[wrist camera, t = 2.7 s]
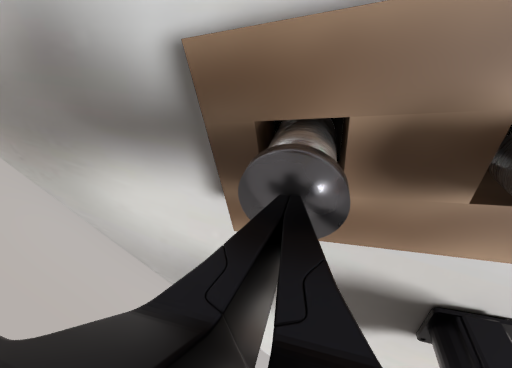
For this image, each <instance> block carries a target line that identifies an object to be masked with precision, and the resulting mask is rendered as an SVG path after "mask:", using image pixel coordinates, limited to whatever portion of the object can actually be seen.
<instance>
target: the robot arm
mask: <svg viewBox="0 0 512 368" xmlns="http://www.w3.org/2000/svg"><path fill="white" fill-rule="evenodd" d="M277 283H278V285H277ZM276 287H277V297H276V309H275V320H274V332H273V342H272V349H271V355H270V360H269V365H268V368H382V366H381V365H380V363H379V361H378V360H377V358H376V356H375V355H374V353H373V351H372V349H371V348H370V346H369V344H368V342H367V340H366V339H365V337H364V335H363V333H362V331H361V330H360V328H359V326H358V324H357V322H356V320H355V319H354V317H353V315H352V313H351V311H350V310H349V308H348V306H347V304H346V302H345V300H344V298H343V297H342V295H341V293H340V291H339V289H338V287H337V285H336V282H335V280H334V278H333V275H332V273H331V271H330V268H329V266H328V263H327V261H326V259H325V256H324V253H323V251H322V248H321V246H320V243H319V241H318V238H317V236H316V233H315V230H314V228H313V225H312V223H311V220H310V218H309V215H308V212H307V210H306V207H305V205H304V202H303V200H302V197H301V196H300V195H291V196H290V195H286V194H280V195H278V196H277V197H276V198H275V199H274V200H273V201H271V202H270V203H269V204H268V205H267V206H266V207H265V208H264V209H263V210H261V211H260V212H259V213H258V214H257V215H256V216H255V217H254V218H252V219H251V220H250V221H249V222H248V223H247V224H246V225H245V226H244V227H242V228H241V229H240V230H239V231H238V232H237V233H236V234H235V235H233V236H232V237H231V238H230V239H229V240H228V241H227V242H226V243H225V244H224V246H221V247H220V248H219V249H218V250H217V251H215V252H214V253H213V254H212V255H211V256H210V257H208V258H207V259H206V260H205V261H204V262H202V263H201V264H200V265H199V266H197V267H196V268H195V269H193V270H192V271H191V272H190V273H188V274H187V275H185V276H184V277H183V278H181V279H180V280H179V281H177V282H176V283H175V284H173V285H172V286H171V287H169V288H168V289H167V290H165V291H164V292H163V293H161V294H160V295H158V296H157V297H156V298H154V299H153V300H151V301H150V302H148V303H147V304H145V305H143V306H141V307H139V308H137V309H134V310H132V311H129V312H126V313H122V314H118V315H115V316H112V317H108V318H104V319H101V320H97V321H94V322H90V323H87V324H83V325H80V326H77V327H73V328H69V329H65V330H62V331H58V332H55V333H51V334H48V335H44V336H40V337H36V338H30V339H24V340H9V339H7V338H4V337H2V336H0V368H255V365H256V361H257V357H258V353H259V350H260V346H261V342H262V339H263V335H264V331H265V327H266V324H267V320H268V316H269V313H270V309H271V305H272V301H273V298H274V294H275V290H276ZM416 336H417V339H418V340H419V341H422V342H427V343H431V344H432V345H433V348H434V351H435V354H436V357H437V360H438V363H439V367H440V368H512V321H510V320H504V319H498V318H493V317H487V316H482V315H476V314H471V313H465V312H459V311H454V310H448V309H443V308H433V309H432V310H431V312H430V313H429V315H428V316H427V318H426V320H425V321H424V323H423V324H422V326H421V327H420V329H419V331H418V332H417V334H416Z"/></svg>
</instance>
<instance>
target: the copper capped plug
mask: <svg viewBox="0 0 512 368" xmlns="http://www.w3.org/2000/svg"><path fill="white" fill-rule="evenodd" d="M489 172H490V174H491V176H492V177H493V179H494V180H495V181H496V182H497V183H499V184H500V185H501V186H502V187H503V188H504V189H505V190H506V191H507V192H508V193H509V194H510V195H511V196H512V133H511V134H510V135H509V136H507V137H506V138H505V139H504V140H503V141H502V143H501V145H500V147H499V149H498V150H497V152H496V154H495V156H494V158H493V160H492V162H491V163H490V165H489Z"/></svg>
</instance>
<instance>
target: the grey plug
mask: <svg viewBox="0 0 512 368" xmlns="http://www.w3.org/2000/svg"><path fill="white" fill-rule="evenodd" d="M280 194H286V195H290V196H291V195H300V196H301V197H302V200H303V202H304V205H305V207H306V210H307V212H308V215H309V218H310V220H311V223H312V225H313V228H314V230H315V233H316V236H317V238H318V239H320V238H323V237H325V236H328V235H330V234H331V233H333V232H335V231H336V230H337V229H338V228H340V227H341V225H342V224H343V223H344V222H345V220H346V219H347V216H348V214H349V211H350V192H349V184H348V180H347V177H346V175H345V173H344V171H343V169H342V168H341V166H340V165H339V164H338V163H337V154H336V131H335V126H334V124H333V122H332V120H331V118H316V119H294V120H282V122H281V124H280V126H279V128H278V130H277V132H276V133H275V135H274V137H273V139H272V141H271V143H270V145H269V147H268V149H266V150H264V151H262V152H260V153H259V154H258V155H256V156H255V157H254V158H253V159H252V161H251V162H250V163H249V165H248V167H247V168H246V170H245V172H244V173H243V175H242V177H241V179H240V182H239V186H238V197H239V202H240V205H241V207H242V209H243V211H244V213H245V214H246V215H247V217H248V218H249V219H250V220H251V219H252V218H254V217H255V216H256V215H257V214H258V213H259V212H260V211H261V210H263V209H264V208H265V207H266V206H267V205H268V204H269V203H270V202H271V201H273V200H274V199H275V198H276V197H277V196H278V195H280Z"/></svg>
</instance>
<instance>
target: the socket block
mask: <svg viewBox="0 0 512 368" xmlns="http://www.w3.org/2000/svg"><path fill="white" fill-rule="evenodd" d="M182 43H183V47H184V50H185V54H186V58H187V61H188V65H189V69H190V72H191V76H192V79H193V83H194V87H195V90H196V94H197V98H198V101H199V105H200V109H201V112H202V116H203V119H204V123H205V127H206V130H207V134H208V138H209V141H210V145H211V149H212V152H213V156H214V159H215V163H216V167H217V170H218V174H219V178H220V181H221V185H222V189H223V192H224V196H225V199H226V203H227V207H228V210H229V214H230V218H231V221H232V225H233V229H234V231H239V230H240V229H241V228H242V227H244V226H245V225H246V224H247V223H248V222H249V221H250V219H249V218H248V217H247V215H246V214H245V213H244V211H243V209H242V207H241V205H240V202H239V197H238V186H239V182H240V179H241V177H242V175H243V173H244V172H245V170H246V168H247V167H248V165H249V163H250V162H251V161H252V159H253V158H254V157H255V156H256V155H258V154H259V153H260V152H262V151H264V150H266V149H268V147H269V145H270V143H271V141H272V139H273V137H274V135H275V133H274V122H273V120H294V119H316V118H338V117H343V125H342V137H341V148H340V159H339V161H337V163H338V164H339V165H340V166H341V168H342V169H343V171H344V173H345V175H346V177H347V180H348V184H349V192H350V211H349V214H348V216H347V219H346V220H345V222H344V223H343V224H342V225H341V227H340V228H338V229H337V230H336V231H335V232H333V233H331V234H330V235H328V236H325V237H323V238H320V239H318V241H325V242H334V243H342V244H351V245H359V246H367V247H376V248H384V249H393V250H401V251H410V252H418V253H427V254H435V255H443V256H452V257H460V258H469V259H477V260H486V261H494V262H502V263H511V264H512V196H511V195H510V194H509V193H508V192H507V191H506V190H505V189H504V188H503V187H502V186H501V185H500V184H499V183H497V182H496V181H495V180H494V179H493V177H492V176H491V174H490V172H489V165H490V163H491V162H492V160H493V158H494V156H495V154H496V152H497V150H498V149H499V147H500V145H501V143H502V141H503V139H504V137H505V135H506V134H507V132H508V130H509V128H510V126H511V124H512V0H388V1H382V2H377V3H371V4H366V5H361V6H355V7H350V8H345V9H339V10H334V11H329V12H323V13H318V14H313V15H307V16H302V17H297V18H291V19H286V20H281V21H275V22H270V23H265V24H259V25H254V26H248V27H243V28H238V29H232V30H227V31H222V32H216V33H211V34H206V35H200V36H195V37H190V38H184V39H182Z"/></svg>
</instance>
